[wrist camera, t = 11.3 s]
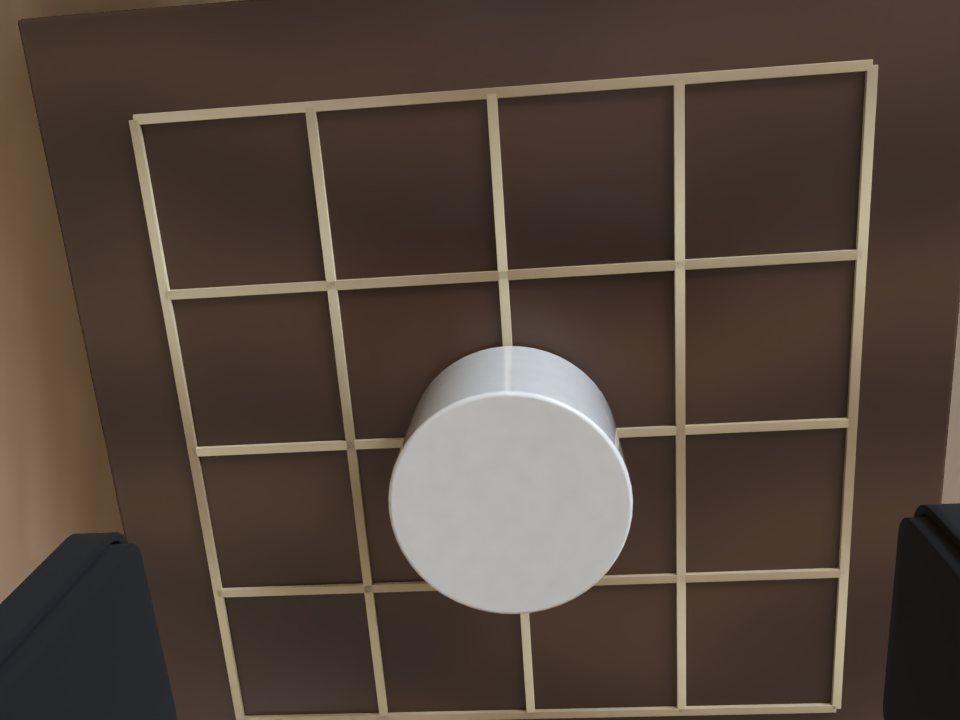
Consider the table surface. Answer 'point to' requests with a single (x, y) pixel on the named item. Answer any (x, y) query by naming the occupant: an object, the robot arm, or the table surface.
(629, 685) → the board
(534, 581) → the white round puck
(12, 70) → the table surface
